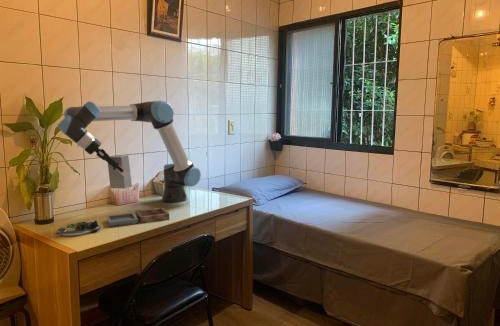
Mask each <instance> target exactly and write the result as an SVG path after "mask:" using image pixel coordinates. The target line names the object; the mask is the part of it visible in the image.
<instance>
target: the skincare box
mask: <svg viewBox="0 0 500 326" xmlns="http://www.w3.org/2000/svg"><path fill="white" fill-rule="evenodd" d="M109 157H110V158H111V159H113V160H114V161H115V162H116V163H118V164H119V165H120V166H121V167H123V168H124V169H125V170H126V171H127V172H128V173H130V174H129V175H128V176H127V177H126V178H125V177H124V176H123V175H122V174H121V173H119V172H118V171H117V170H116V169H115V170H114V168H113V166H111V165H110V164H109V163H108V162H107V170H108V178H109V188H110V189H127V188H130V187H132V184H133V183H132V176H131V167H130V158H129V155H127V154H126V155H112V156H109Z"/></svg>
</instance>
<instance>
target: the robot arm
mask: <svg viewBox="0 0 500 326" xmlns="http://www.w3.org/2000/svg"><path fill="white" fill-rule="evenodd" d="M63 114H64V115H63V116H64V118H63V119H62V120H61V121H59V122H58V124H57V128H58V130H60V131H61V133H63V134H64V135H65V136H66V137H68V138H69V139H70V140H72V141H73V142H74V143H75V144H76V146H77V147H80V148H81V149H84V151H85V152H86V153H87V154H89V155H93V154H94V153H96V156H97V157H98V158H100V159H101V160H103V161H105V162H106V163H107V164H108V163H109V164H110V165H111V166H113V168H114V170H115V169H116V170H117V171H118V172H119V173H121V174H122V175H123V176H124V177H125V178H126V177H127V176H128V175H129V174H131V172H130V173H128V172H127V171H126V170H125V169H124V168H123V167H121V166H120V165H119V164H118V163H116V162H115V161H114V160H113V159H111V158H110V157H111V156H110V154H108V153H107V152H106V150H105V149H103V148H99V147H100V146H101V145H102V142H101V141H100V140H99V139H97V138H95V136H94V135H93V134H92V133H90V132H89V131H88V130H86V129H87V128H88V126H89V125H90V124H91V123H92V122H108V121H109V122H110V121H127V120H128V121H129V120H130V121H131V122H142V123H143V122H144V123H151V125H152V128H153V129H155V130H156V131H158V133H159V135H160V137H161V139H162V141H163V144H164V146H165V148H166V150H167V153H168V154H169V156H170V158H171V160H172V163H168V164H167V163H166V164H164V165H163V181H164V182H163V183H164V184H163V185H164V188H163V192H162V197H161V200H162V202H164V203H179V202H180V203H181V202H185V201H186V200H188V198H187V197H188V196H187V193H186V191H185V187H187V188H188V187H195V186H196V185H198V184H199V182H200V179H201V174H202V173H201V170H200V168H199V167H197V166H194V165H195V164H194V163H193V161H192V160H190V159H188V158H189V157H188V156H187V153H186V151H185V149H184V147H183V146H182V143H181V140H180V138H179V136H178V134H177V131H176V129H175V127H174V125H173V123H174V119H173V118H174V115H175V111H174V108H173V106H172V105H171V104H170V103H169V102H167V101H165V100H164V101H163V100H154V101H143V102H139V103H131V104H128V105H109V106H108V105H103V106H101V105H100V106H99V105H97V104H96V103H94V102H93V101H87V102H86V103H84V104H83V106H70V107H68V108H66V109H65V110H64V113H63Z"/></svg>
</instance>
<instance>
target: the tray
mask: <svg viewBox="0 0 500 326" xmlns="http://www.w3.org/2000/svg"><path fill="white" fill-rule="evenodd" d="M106 222H107V225H108V226H109V228H116V227H123V226H125V227H126V226H130V225H138V224H139V220H138V218H137V217H136V213H134V212H130V213H129V212H128V213H121V214H119V213H118V214H113V215H107V216H106Z"/></svg>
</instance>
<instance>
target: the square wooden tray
mask: <svg viewBox="0 0 500 326" xmlns="http://www.w3.org/2000/svg"><path fill="white" fill-rule="evenodd" d="M135 216H136V217H137V218H138V222H140V224H144V223H152V222H153V223H154V222H160V221H167V220H168V221H169V220H170V213H169V212H168V211H167V210H166V209H165V208H164V207H158V208H156V207H155V208H149V209H140V210H135Z"/></svg>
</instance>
